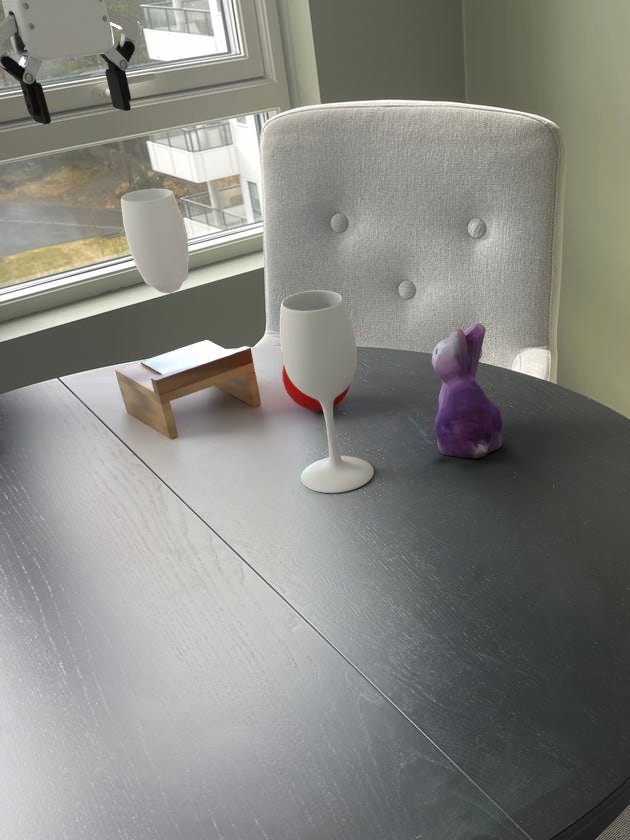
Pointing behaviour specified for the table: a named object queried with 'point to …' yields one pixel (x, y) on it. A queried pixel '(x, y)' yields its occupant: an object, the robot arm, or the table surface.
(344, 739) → the table surface
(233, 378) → the stand
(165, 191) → the cup
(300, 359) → the wineglass
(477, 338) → the figurine
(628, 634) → the table surface
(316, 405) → the ornament
